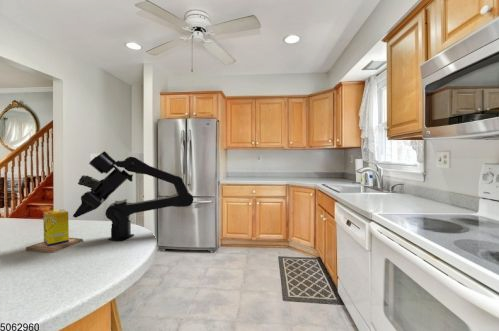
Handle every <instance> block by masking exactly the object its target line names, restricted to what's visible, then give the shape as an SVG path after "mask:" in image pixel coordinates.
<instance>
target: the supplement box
mask: <svg viewBox="0 0 499 331" xmlns="http://www.w3.org/2000/svg"><path fill="white" fill-rule="evenodd" d="M42 216H43V242H44V243H46V244H47V246H53V245H57V244H62V243H66V242H69V238H70V237H69V236H70V234H69V231H70V230H69V227H70V226H69V211H67V210H65V209H57V210H49V211H43V213H42Z"/></svg>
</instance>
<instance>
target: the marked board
mask: <svg viewBox="0 0 499 331" xmlns="http://www.w3.org/2000/svg"><path fill="white" fill-rule="evenodd" d="M83 242H84V238H78V237H69V242H66V243H62V244H57V245H53V246H47V244H46V243H44V241H41V242H38V243H35V244H32V245H29V246H26V247H25V251H29V252H31V251H32V252H38V253H39V252H40V253H49V254H53V253H56V252H59V251H61V250H64V249H67V248H69V247H72V246H75V245H77V244H80V243H83Z"/></svg>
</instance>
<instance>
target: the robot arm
mask: <svg viewBox="0 0 499 331" xmlns="http://www.w3.org/2000/svg"><path fill="white" fill-rule="evenodd" d="M88 164H89V165H90V166H92V167H93V168H94V169H95V170H96V171H97V172H98V173H99V174H101V175H102V174H108V175H107V176H105V177H104V178H102V179H100V180H99V179H96V178H95V177H93V176H89V175H81V176H80V178H79V179H78V180H79V181H78V182H77V185H78V186H79V185H80V186H83V187H87V188H89V191H86V192H84V193H83V194H82V195H81V196H80V200H81V204H80V205H79V206H78V208H77V209H76V211H75V212H74V213H73V215H72V217H73V218H75V219H76V218H78V217H81V216H83V215H85V214H87V213H90V212H92V211H95V210H97V209H98V208H100V206H101V205H102V204H103V203H104V202H105V201H107V200H108V199H109V197H110V195H112V194H113V193H115V191H116V190H117V189H118V188H119V187H120V186H121V185H122V184H124V183H125V182H126V181H127V180H128V181H129V182H131V183H132V182H133V176H134V174H135V173H136V174H143V175H146V176H151V177H153V178H155V179H159V180H160V181H164V182H167V183H170V184H172V185H173V186H174V188H175V192H176V193H174V194H172V195H170V196H166V197H159V198H155V199H154V198H153V199H148V200H142V201H136V202H135V201H134V202H128V199H127V198H126V199H123V200H115V201H114V202H113V203H111V204H110V205H108V207H107V208H106V210H105V216H106V218H107V219H108V220H109V221H111V228H110V232H111V233H110V237H108V238H107V239H108V240H110V241H111V240H112V241H121V242H123V241H125V240H127V239H130V238H132V237H134V236H135V234H134V233H132V232H131V225H132V224H131V220H130V216H131V215H133V214H138V213H143V212H147V211H152V210H153V211H154V210H159V209H164V208H169V207H175V208H177V207H178V208H185V207H190V206H192V204H193V203H194V197H193V194H191V193H189V190H188V189H187V188H188V187H186V185H185V182H184V180H183V178H182V177H181V176H180V175H175V174H172V173H170V172H168V171H164V170H162V169H159V168H157V167H154V166H152V165H151V166H150V165H149V164H148V163H146V162H144V161H142V160H140V159H139V158H137V157H134V156H128V157H126V158H125V159H124V160H117V161H116V160H115V159H114V158H112V156H110V154H108V152H106V150H105V151H102V152H101V153H100V154H98V155H97V156H94V158H92V159H91V160H90V161H89V163H88ZM120 168H123V170H121V169H120ZM129 172H130V174H129ZM131 173H134V174H131Z"/></svg>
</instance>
